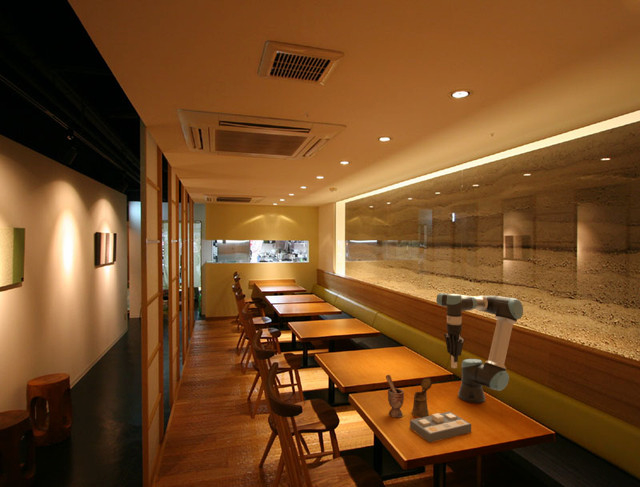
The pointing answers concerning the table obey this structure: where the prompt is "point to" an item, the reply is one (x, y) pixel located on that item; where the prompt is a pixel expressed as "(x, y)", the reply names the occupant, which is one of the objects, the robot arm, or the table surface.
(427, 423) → the button
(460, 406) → the table surface
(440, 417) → the button middle
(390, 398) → the mortar and pestle
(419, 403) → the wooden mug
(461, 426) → the button panel
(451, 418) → the button
